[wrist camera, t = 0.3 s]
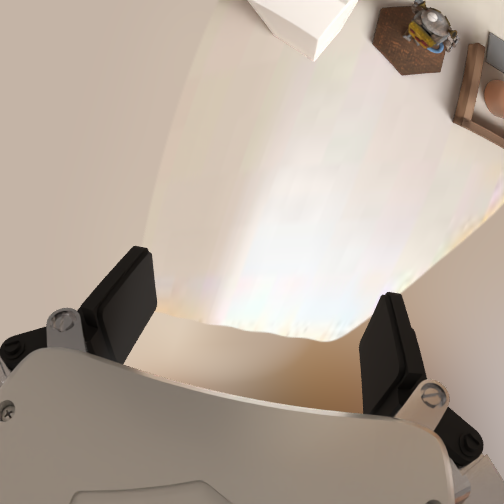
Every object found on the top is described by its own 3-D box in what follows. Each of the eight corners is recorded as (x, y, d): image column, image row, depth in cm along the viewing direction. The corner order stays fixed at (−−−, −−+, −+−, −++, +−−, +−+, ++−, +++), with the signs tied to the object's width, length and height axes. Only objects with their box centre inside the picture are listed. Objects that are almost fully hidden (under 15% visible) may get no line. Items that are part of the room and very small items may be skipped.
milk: (301, 3, 28) (289, -81, 9) (342, 30, 29) (379, -32, 10) (273, 37, 31) (230, -19, 12) (313, 63, 32) (320, 32, 13)
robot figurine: (459, 56, 26) (507, 54, 16) (416, 93, 31) (456, 100, 21) (402, -8, 24) (435, -36, 13) (356, 28, 28) (376, 6, 18)
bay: (468, 44, 25) (478, 42, 22) (533, 87, 24) (544, 89, 21) (452, 122, 31) (461, 125, 29) (517, 157, 30) (527, 162, 28)
